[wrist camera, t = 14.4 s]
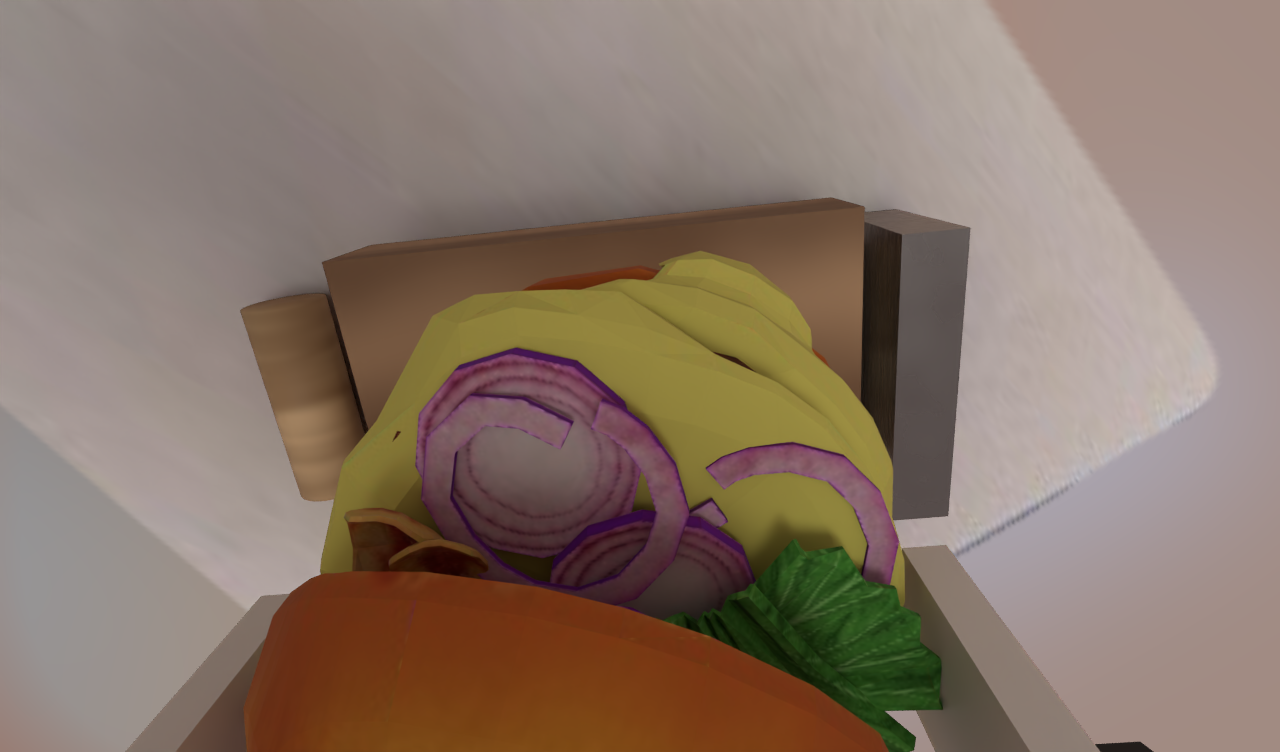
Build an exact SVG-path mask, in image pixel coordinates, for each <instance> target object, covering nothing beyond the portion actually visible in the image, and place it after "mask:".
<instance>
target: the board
mask: <svg viewBox="0 0 1280 752" xmlns="http://www.w3.org/2000/svg"><path fill="white" fill-rule="evenodd" d="M864 211H865V207H864V206H860V205H857V204H853V203H849V202H846V201H842V200H838V199H835V198H822V199H812V200H802V201H793V202H783V203H773V204H764V205H754V206H744V207H735V208H725V209H715V210H706V211H696V212H686V213H676V214H667V215H657V216H647V217H638V218H628V219H618V220H609V221H599V222H589V223H580V224H570V225H560V226H550V227H541V228H531V229H521V230H512V231H502V232H492V233H483V234H473V235H463V236H454V237H444V238H434V239H424V240H415V241H405V242H395V243H386V244H376V245H370V246H367V247H364V248H361V249H358V250H355V251H353V252H350V253H347V254H344V255H341V256H338V257H335V258H332V259H330V260H327V261H324V262H322V264H323V268H324V271H325V275H326V278H327V282H328V286H329V289H330V293H331V297H332V300H333V304H334V307H335V311H336V315H337V318H338V322H339V326H340V329H341V333H342V337H343V340H344V344H345V347H346V351H347V355H348V358H349V362H350V366H351V369H352V373H353V376H354V380H355V384H356V387H357V391H358V395H359V398H360V402H361V405H362V409H363V413H364V416H365V420H366V424H367V427H368V431H369V429H370V428H371V427H372V426H373V424H374V423H375V422H376V421H377V419H378V417H379V415H380V413H381V411H382V410H383V408H384V406H385V404H386V402H387V400H388V398H389V396H390V395H391V393H392V391H393V389H394V387H395V385H396V383H397V381H398V380H399V378H400V376H401V374H402V372H403V370H404V368H405V366H406V365H407V363H408V361H409V359H410V357H411V355H412V353H413V351H414V349H415V348H416V346H417V344H418V342H419V340H420V338H421V336H422V334H423V333H424V331H425V329H426V327H427V325H428V323H429V321H430V319H431V318H432V316H433V315H435V314H437V313H439V312H441V311H443V310H445V309H447V308H448V307H450V306H452V305H454V304H456V303H458V302H460V301H463V300H465V299H467V298H469V297H471V296H473V295H478V294H490V293H501V292H513V291H522V290H523V289H525V288H527V287H528V286H531V285H533V284H535V283H537V282H539V281H541V280H543V279H547V278H554V277H561V276H568V275H575V274H582V273H589V272H596V271H604V270H611V269H618V268H625V267H632V266H639V265H641V266H645V267H648V268H652V269H656V270H661V269H662V267H661V266H660V265H659V263H662V262H664V261H666V260H668V259H671V258H675V257H678V256H682V255H686V254H690V253H694V252H698V251H703V252H707V253H711V254H714V255H718V256H722V257H725V258H729V259H733V260H736V261H740V262H744V263H747V264H750V265H752V266H753V267H754V268H755V269H757V270H758V271H759V272H760V273H761V274H763V275H764V276H765V277H766V278H768V279H769V280H770V281H771V282H772V283H774V284H775V285H776V286H777V287H779V288H780V289H781V290H782V291H783V292H785V293H786V294H787V295H788V296H790V298H791V299H792V301H793V302H794V304H795V305H796V307H797V308H798V310H799V312H800V313H801V315H802V316H803V318H804V319H805V321H806V323H807V324H808V326H809V327H810V329H811V336H812V348H813V349H814V350H815V351H817V352H818V353H819V354H821V355H822V356H823V357H824V358H825V359H826V361H827V363H828V365H829V367H830V369H832V370H833V371H834V372H835V373H836V374H837V375H838V376H839V377H841V378H842V379H843V380H844V382H845V383H846V384H847V385H848V386H849V388H850V389H851V390H852V392H853V393H854V394H855V396H856V397H857V398H858V399H859V401H860V402H861V359H862V310H863V260H864Z"/></svg>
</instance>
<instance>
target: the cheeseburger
mask: <svg viewBox="0 0 1280 752" xmlns="http://www.w3.org/2000/svg"><path fill="white" fill-rule="evenodd" d="M659 265H660V266H661V267H662V269H661V270H656V269H652V268H648V267H645V266H641V265H639V266H632V267H625V268H618V269H611V270H604V271H596V272H589V273H582V274H575V275H568V276H561V277H554V278H547V279H543V280H541V281H539V282H537V283H535V284H533V285H531V286H528V287H527V288H525V289H523V290H522V291H513V292H501V293H490V294H478V295H473V296H471V297H469V298H467V299H465V300H463V301H460V302H458V303H456V304H454V305H452V306H450V307H448V308H447V309H445V310H443V311H441V312H439V313H437V314H435V315H433V316H432V318H431V319H430V321H429V323H428V325H427V327H426V329H425V331H424V333H423V334H422V336H421V338H420V340H419V342H418V344H417V346H416V348H415V349H414V351H413V353H412V355H411V357H410V359H409V361H408V363H407V365H406V366H405V368H404V370H403V372H402V374H401V376H400V378H399V380H398V381H397V383H396V385H395V387H394V389H393V391H392V393H391V395H390V396H389V398H388V400H387V402H386V404H385V406H384V408H383V410H382V411H381V413H380V415H379V417H378V419H377V421H376V422H375V423H374V424H373V426H372V427H371V428H370V429H369V431H368V432H367V433H366V434H365V435H364V437H363V438H362V439H361V440H360V441H359V443H358V444H357V445H356V446H355V448H354V449H353V450H352V451H351V452H350V454H349V455H348V456H347V457H346V458H345V460H344V462H343V465H342V468H341V472H340V477H339V481H338V485H337V490H336V494H335V499H334V503H333V508H332V512H331V517H330V522H329V526H328V531H327V535H326V540H325V545H324V549H323V554H322V559H321V567H320V572H321V575H319V576H316V577H313V578H311V579H309V580H308V581H306V582H305V583H304V584H302V585H301V586H299V587H298V588H296V589H295V590H294V591H292V592H291V593H290V594H289V596H288V597H287V598H286V600H285V601H284V602H283V603H282V605H281V606H280V607H279V609H278V610H277V611H276V613H275V614H274V615H273V617H272V620H271V624H270V627H269V630H268V633H267V636H266V639H265V642H264V645H263V649H262V652H261V655H260V658H259V661H258V664H257V667H256V670H255V674H254V677H253V680H252V683H251V686H250V689H249V692H248V695H247V698H246V702H245V705H244V708H243V710H244V722H245V734H246V747H247V752H910V751H913V750H914V747H915V740H916V737H915V736H914V735H913V734H911V733H910V732H909V731H908V730H907V729H905V728H904V727H903V726H902V725H901V724H899V723H898V722H897V721H896V720H895V719H893V718H892V717H891V716H890V715H889V714H887V713H886V712H885V711H899V710H902V711H903V710H943V707H942V703H941V701H940V699H939V695H940V682H941V670H942V667H941V659H940V657H939V656H938V655H936V654H935V653H934V652H933V651H931V650H930V649H929V648H928V647H926V646H925V645H924V644H922V643H921V642H920V632H921V617H920V615H919V614H918V613H916V612H914V611H912V610H909V609H907V608H905V607H903V606H904V603H905V568H904V557H903V554H902V550H901V547H900V543H899V539H898V536H897V532H896V528H895V525H894V521H893V518H892V502H893V466H892V462H891V459H890V456H889V454H888V452H887V450H886V447H885V445H884V443H883V440H882V438H881V436H880V433H879V431H878V429H877V426H876V424H875V422H874V419H873V418H872V416H871V415H870V414H869V412H868V411H867V410H866V408H865V407H864V406H863V405H862V403H861V402H860V401H859V399H858V398H857V397H856V396H855V394H854V393H853V392H852V390H851V389H850V388H849V386H848V385H847V384H846V383H845V382H844V380H843V379H842V378H841V377H839V376H838V375H837V374H836V373H835V372H834V371H833V370H832V369H830V367H829V365H828V363H827V361H826V359H825V358H824V357H823V356H822V355H821V354H819V353H818V352H817V351H815V350H814V349H813V348H812V336H811V329H810V327H809V326H808V324H807V323H806V321H805V319H804V318H803V316H802V315H801V313H800V312H799V310H798V308H797V307H796V305H795V304H794V302H793V301H792V299H791V298H790V296H788V295H787V294H786V293H785V292H783V291H782V290H781V289H780V288H779V287H777V286H776V285H775V284H774V283H772V282H771V281H770V280H769V279H768V278H766V277H765V276H764V275H763V274H761V273H760V272H759V271H758V270H757V269H755V268H754V267H753V266H752V265H750V264H747V263H744V262H740V261H736V260H733V259H729V258H725V257H722V256H718V255H714V254H711V253H707V252H703V251H698V252H694V253H690V254H686V255H682V256H678V257H675V258H671V259H668V260H666V261H664V262H662V263H659Z"/></svg>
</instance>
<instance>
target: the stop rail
mask: <svg viewBox="0 0 1280 752" xmlns="http://www.w3.org/2000/svg"><path fill="white" fill-rule="evenodd" d="M969 239H970V228H969V227H965V226H961V225H957V224H953V223H949V222H945V221H941V220H937V219H933V218H929V217H925V216H921V215H917V214H913V213H909V212H905V211H901V210H897V209H893V210H883V211H873V212H864V260H863V310H862V359H861V403H862V405H863V406H864V407H865V408H866V410H867V411H868V412H869V414H870V415H871V416H872V418H873V419H874V422H875V424H876V426H877V429H878V431H879V433H880V436H881V438H882V440H883V443H884V445H885V447H886V450H887V452H888V454H889V456H890V459H891V462H892V466H893V502H892V518H893V520H904V519H917V518H930V517H942V516H948V511H949V498H950V485H951V472H952V459H953V446H954V433H955V420H956V407H957V394H958V381H959V369H960V356H961V343H962V330H963V317H964V304H965V291H966V278H967V265H968V252H969Z"/></svg>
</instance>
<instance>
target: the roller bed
mask: <svg viewBox="0 0 1280 752" xmlns="http://www.w3.org/2000/svg"><path fill="white" fill-rule="evenodd" d="M240 312H241V315H242V318H243V321H244V324H245V327H246V330H247V333H248V336H249V339H250V342H251V345H252V348H253V351H254V354H255V357H256V360H257V363H258V366H259V369H260V372H261V375H262V379H263V382H264V385H265V388H266V391H267V394H268V397H269V400H270V403H271V406H272V409H273V412H274V415H275V418H276V421H277V424H278V427H279V430H280V433H281V436H282V439H283V442H284V445H285V448H286V451H287V455H288V458H289V461H290V464H291V467H292V470H293V473H294V476H295V479H296V482H297V485H298V488H299V491H300V494H301V496H302V498H304V499H305V500H309V501H327V500H332V499H335V494H336V490H337V485H338V481H339V477H340V472H341V468H342V465H343V462H344V460H345V458H346V457H347V456H348V455H349V454H350V452H351V451H352V450H353V449H354V448H355V446H356V445H357V444H358V443H359V441H360V440H361V439H362V438H363V437H364V435H365V434H364V430H363V426H362V423H361V419H360V416H359V412H358V408H357V405H356V401H355V398H354V394H353V390H352V387H351V383H350V380H349V376H348V373H347V369H346V365H345V362H344V358H343V355H342V351H341V347H340V344H339V340H338V337H337V333H336V329H335V326H334V322H333V319H332V315H331V311H330V308H329V304H328V301H327V297H326V295H325V294H318V293H315V294H302V295H294V296H287V297H282V298H276V299H272V300H267V301H263V302H259V303H256V304H253V305H250V306H247V307H245V308H243V309H241V310H240Z"/></svg>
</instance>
